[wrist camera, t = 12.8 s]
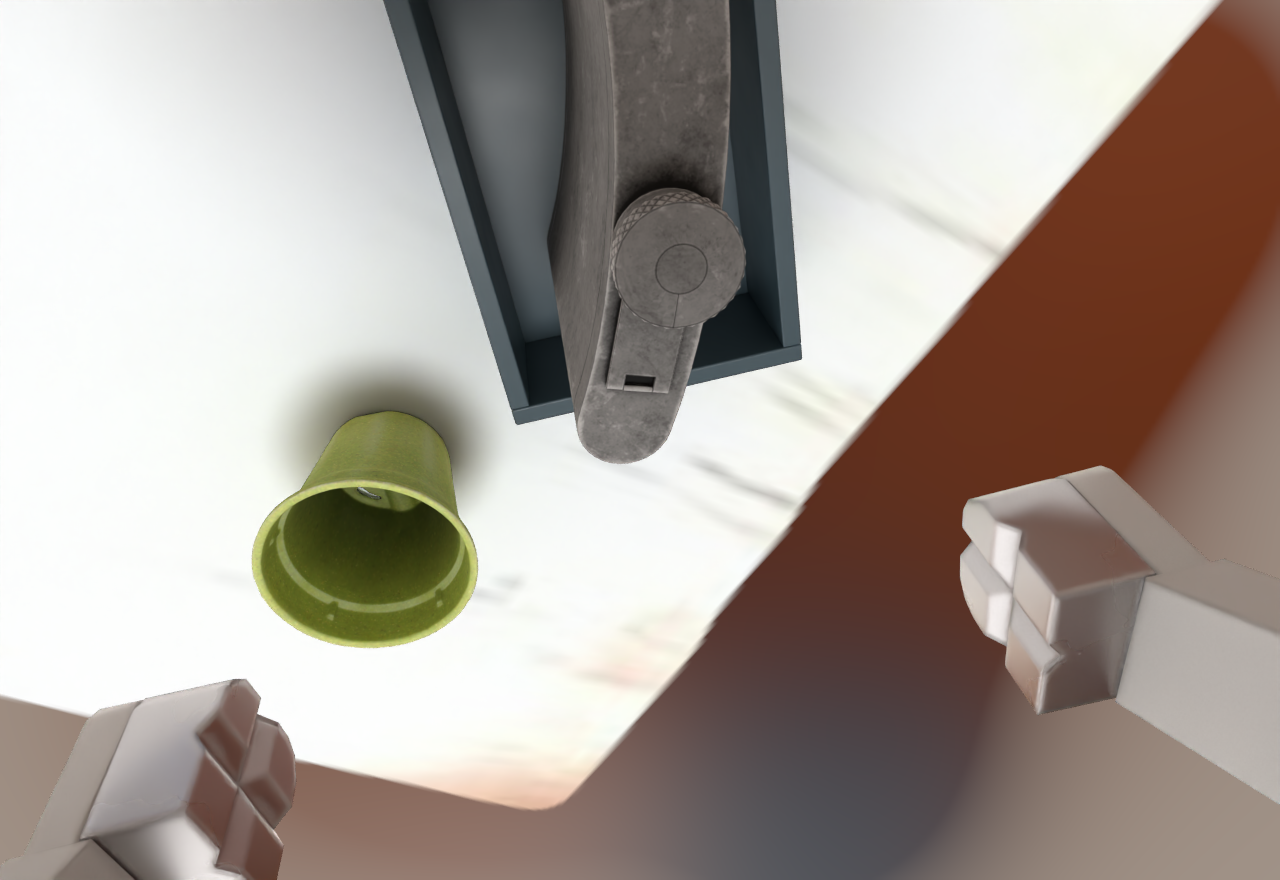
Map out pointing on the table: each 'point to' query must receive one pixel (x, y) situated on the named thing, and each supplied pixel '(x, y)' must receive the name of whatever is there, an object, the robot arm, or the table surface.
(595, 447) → the flask
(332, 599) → the plant pot
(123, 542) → the table surface
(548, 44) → the tote
